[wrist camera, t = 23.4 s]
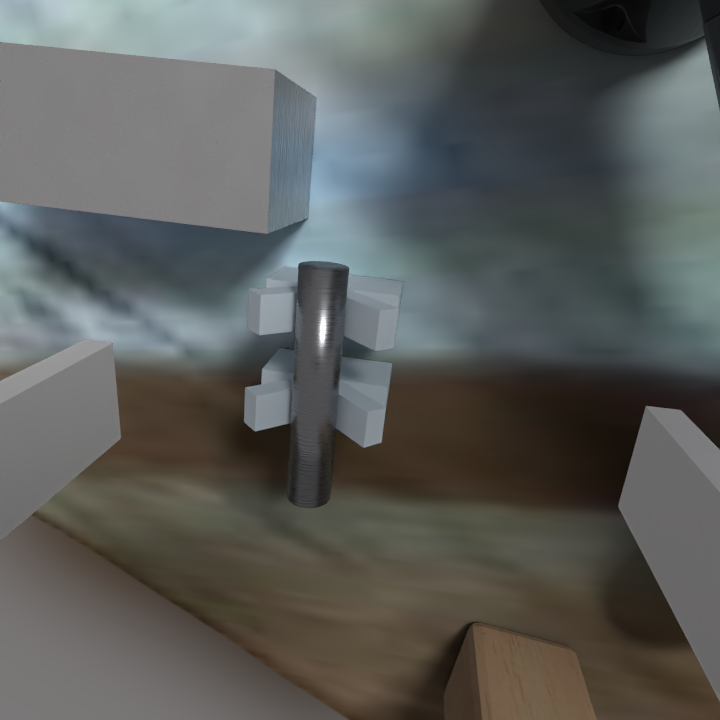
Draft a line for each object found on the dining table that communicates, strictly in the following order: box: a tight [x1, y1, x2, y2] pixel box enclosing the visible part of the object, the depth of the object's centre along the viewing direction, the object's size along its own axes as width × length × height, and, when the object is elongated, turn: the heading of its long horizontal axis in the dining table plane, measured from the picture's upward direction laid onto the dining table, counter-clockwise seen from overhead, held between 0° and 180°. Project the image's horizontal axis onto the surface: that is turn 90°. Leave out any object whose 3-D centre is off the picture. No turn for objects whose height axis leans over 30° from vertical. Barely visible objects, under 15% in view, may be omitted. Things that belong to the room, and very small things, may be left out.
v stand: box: [244, 267, 403, 448], centre depth 38 cm, size 9×9×10 cm
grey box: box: [0, 42, 317, 234], centre depth 34 cm, size 8×16×11 cm, turn 84°
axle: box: [287, 261, 349, 508], centre depth 35 cm, size 16×3×3 cm, turn 175°
